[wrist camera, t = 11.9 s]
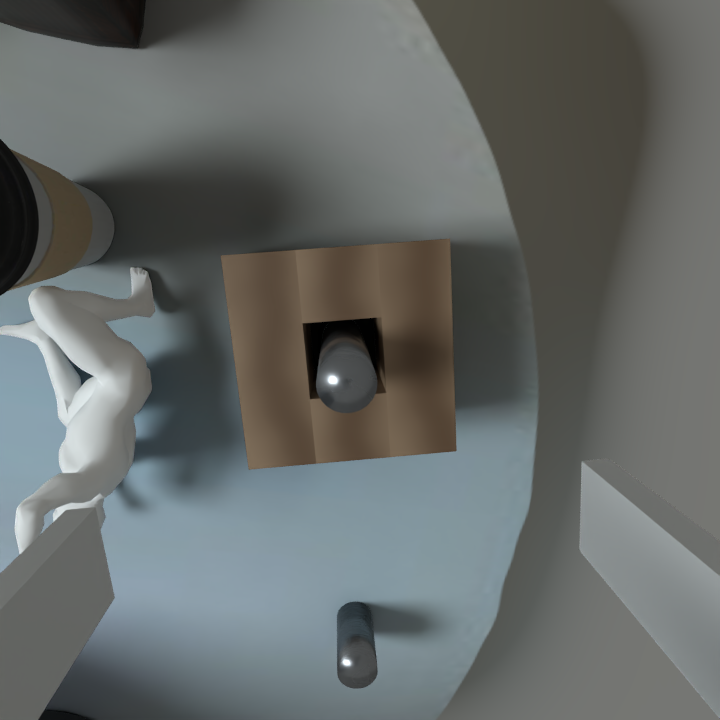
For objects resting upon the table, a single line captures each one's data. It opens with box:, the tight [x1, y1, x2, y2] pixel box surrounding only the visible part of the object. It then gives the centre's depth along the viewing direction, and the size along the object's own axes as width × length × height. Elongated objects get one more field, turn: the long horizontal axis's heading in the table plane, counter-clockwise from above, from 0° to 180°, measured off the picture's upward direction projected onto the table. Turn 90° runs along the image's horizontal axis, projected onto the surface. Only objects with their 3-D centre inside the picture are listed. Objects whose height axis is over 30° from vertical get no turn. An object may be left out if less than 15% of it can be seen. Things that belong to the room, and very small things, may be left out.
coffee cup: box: [0, 139, 114, 295], centre depth 29 cm, size 9×9×15 cm
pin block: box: [221, 239, 456, 469], centre depth 35 cm, size 14×14×8 cm
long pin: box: [316, 320, 377, 413], centre depth 32 cm, size 3×3×14 cm
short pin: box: [337, 602, 377, 688], centre depth 42 cm, size 3×3×6 cm
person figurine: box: [0, 267, 155, 554], centre depth 35 cm, size 13×13×18 cm
